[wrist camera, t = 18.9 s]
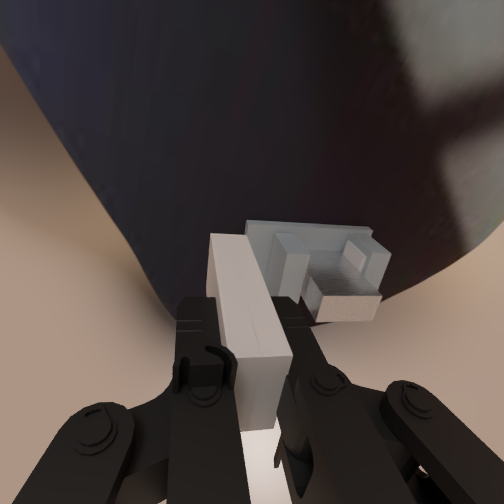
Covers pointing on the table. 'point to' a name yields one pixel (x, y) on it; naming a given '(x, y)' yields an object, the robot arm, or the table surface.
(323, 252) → the steel block
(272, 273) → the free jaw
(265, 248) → the vise
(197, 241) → the table surface
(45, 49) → the table surface
